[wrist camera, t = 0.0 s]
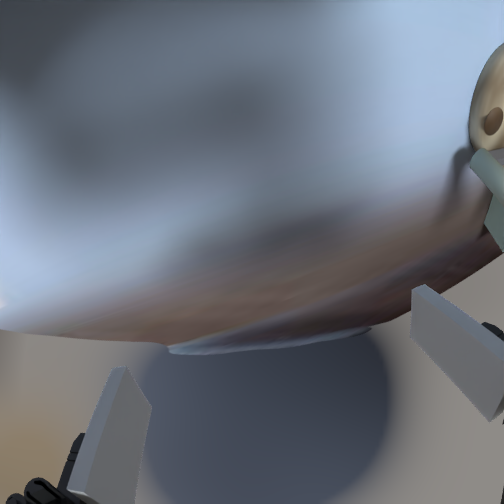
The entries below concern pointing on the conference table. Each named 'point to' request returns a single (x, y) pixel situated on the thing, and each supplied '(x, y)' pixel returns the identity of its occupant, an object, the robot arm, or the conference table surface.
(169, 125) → the conference table surface
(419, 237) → the conference table surface
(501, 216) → the right angle wall
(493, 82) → the upturned stool
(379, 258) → the conference table surface
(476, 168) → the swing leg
